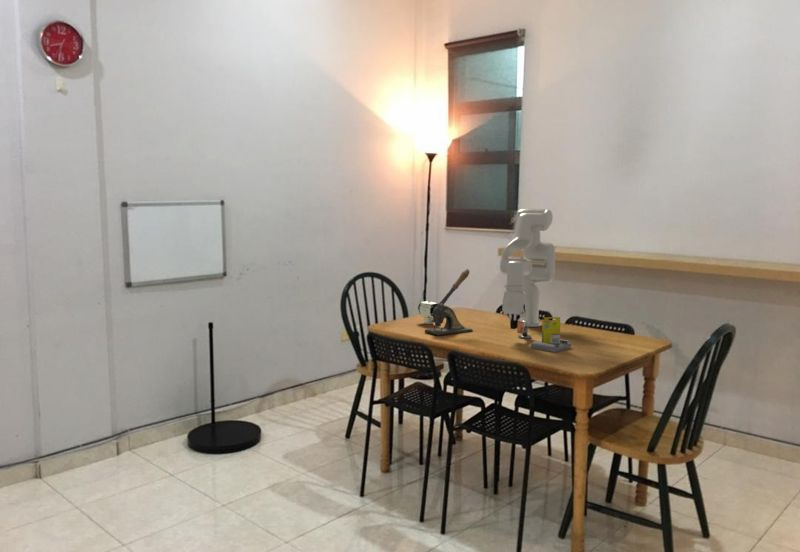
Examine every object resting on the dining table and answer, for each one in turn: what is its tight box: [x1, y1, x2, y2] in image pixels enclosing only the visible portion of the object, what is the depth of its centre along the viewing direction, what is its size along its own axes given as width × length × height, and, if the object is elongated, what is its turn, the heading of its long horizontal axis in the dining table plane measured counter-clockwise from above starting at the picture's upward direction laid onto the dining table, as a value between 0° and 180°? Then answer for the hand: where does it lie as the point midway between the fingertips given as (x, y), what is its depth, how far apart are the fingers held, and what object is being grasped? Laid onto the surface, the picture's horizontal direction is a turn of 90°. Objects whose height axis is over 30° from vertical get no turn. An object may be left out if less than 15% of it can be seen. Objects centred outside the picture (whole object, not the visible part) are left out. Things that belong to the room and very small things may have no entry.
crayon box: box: [541, 316, 561, 344], centre depth 283 cm, size 7×3×12 cm, turn 90°
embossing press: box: [424, 268, 474, 336], centre depth 314 cm, size 11×24×30 cm, turn 124°
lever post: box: [517, 326, 532, 340], centre depth 305 cm, size 6×6×6 cm
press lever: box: [516, 320, 530, 334], centre depth 299 cm, size 4×15×5 cm, turn 158°
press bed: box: [530, 338, 572, 354], centre depth 284 cm, size 12×13×3 cm
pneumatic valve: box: [417, 300, 439, 325], centre depth 335 cm, size 6×12×12 cm, turn 42°
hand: (513, 328), depth 297 cm, fingers closed
